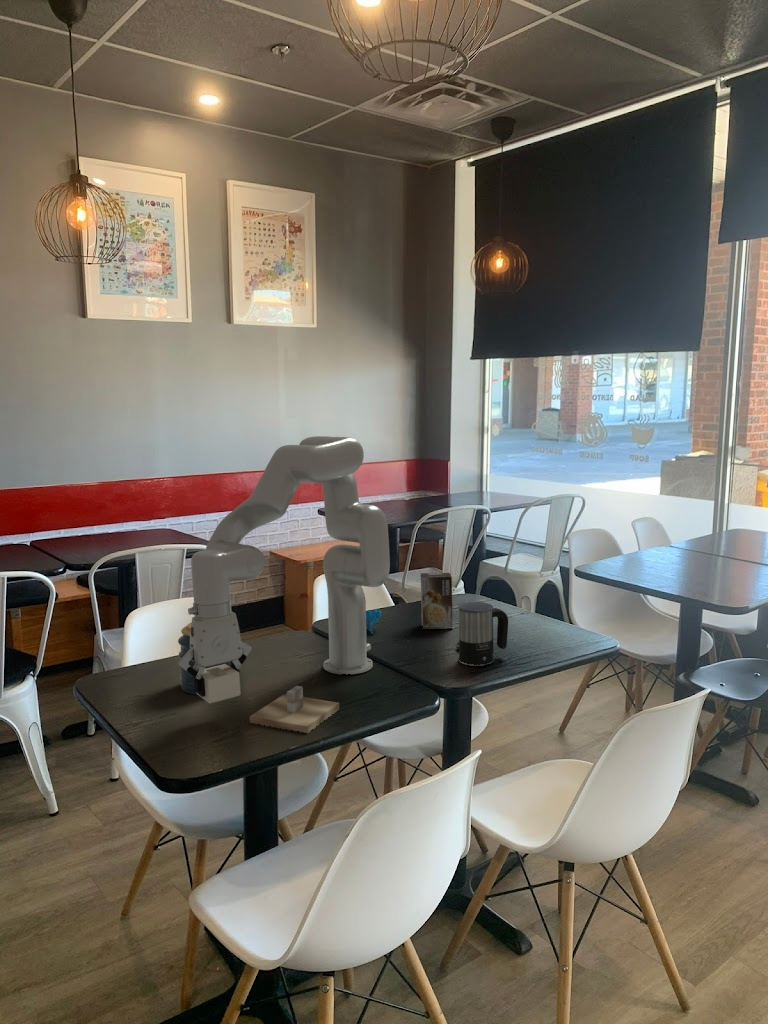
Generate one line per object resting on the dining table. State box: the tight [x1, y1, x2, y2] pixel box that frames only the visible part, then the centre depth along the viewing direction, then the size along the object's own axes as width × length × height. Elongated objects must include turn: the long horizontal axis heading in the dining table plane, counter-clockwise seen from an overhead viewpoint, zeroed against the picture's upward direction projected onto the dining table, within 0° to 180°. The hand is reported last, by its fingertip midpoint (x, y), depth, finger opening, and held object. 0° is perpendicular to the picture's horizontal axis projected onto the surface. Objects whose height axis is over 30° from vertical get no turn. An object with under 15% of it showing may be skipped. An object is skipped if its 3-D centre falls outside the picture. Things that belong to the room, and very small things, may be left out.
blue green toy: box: [366, 608, 382, 632], centre depth 232 cm, size 11×6×10 cm
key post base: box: [249, 685, 340, 734], centre depth 171 cm, size 14×14×6 cm
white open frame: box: [195, 664, 241, 704], centre depth 168 cm, size 7×7×5 cm
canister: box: [177, 622, 231, 696], centre depth 189 cm, size 13×13×18 cm
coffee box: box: [420, 572, 454, 628], centre depth 237 cm, size 9×6×16 cm
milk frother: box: [455, 601, 509, 665], centre depth 209 cm, size 14×16×15 cm
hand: (218, 689), depth 168 cm, fingers closed on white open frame, 7 cm apart
